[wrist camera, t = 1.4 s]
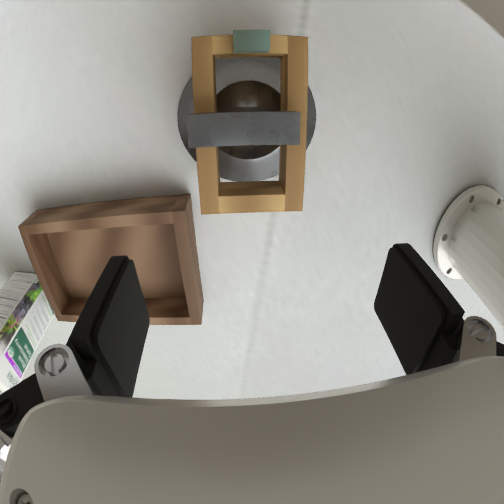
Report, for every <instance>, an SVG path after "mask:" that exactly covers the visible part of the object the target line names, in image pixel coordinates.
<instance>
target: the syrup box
mask: <svg viewBox="0 0 504 504" xmlns="http://www.w3.org/2000/svg"><path fill="white" fill-rule="evenodd" d="M54 316H55V314H54V312H53V310H52V308H51V306H50V304H49V302H48V300H47V297H46V295H45V293H44V291H43V289H42V287H41V284H40V282H39V280H38V278H37V275H36V274H34V273H24V272H14V273H13V275H12V276H11V277H10V278H9V280H8V281H7V282H6V283H5V285H4V286H3V287H2V288H1V290H0V394H2V393H3V392H5V391H7V390H8V389H10V388H12V387H13V386H15V385H17V384H18V383H20V382H21V380H22V378H23V376H24V373H25V371H26V369H27V367H28V365H29V363H30V361H31V358H32V356H33V354H34V352H35V350H36V348H37V346H38V345H39V343H40V341H41V339H42V337H43V335H44V333H45V331H46V330H47V328H48V326H49V324H50V322H51V321H52V319H53V317H54Z"/></svg>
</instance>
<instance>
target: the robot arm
mask: <svg viewBox="0 0 504 504" xmlns="http://www.w3.org/2000/svg"><path fill="white" fill-rule="evenodd" d="M433 255H434V261H435V263H436V265H437V267H438V268H439V270H440V271H441V272H442V273H443V274H444V275H445V276H446V277H449V278H452V279H461V278H463V279H464V280H465V281H466V282H467V283H468V284H469V286H470V287H471V288H472V289H473V290H474V292H475V293H476V294H477V295H478V296H479V298H480V299H481V300H482V301H483V303H484V304H485V305H486V306H487V308H488V309H489V310H490V312H491V313H492V314H493V315H494V317H495V318H496V319H497V321H498V322H499V323H500V325H501V326H502V328H503V329H504V201H503V199H502V197H501V196H500V194H499V193H498V192H497V191H495V190H494V189H492V188H490V187H488V186H484V185H479V186H474V187H471V188H469V189H467V190H466V191H464V192H463V193H461V194H460V195H459V196H458V197H457V198H456V199H455V200H454V201H453V202H452V204H451V205H450V206H449V207H448V209H447V210H446V212H445V214H444V215H443V217H442V219H441V221H440V223H439V226H438V228H437V231H436V235H435V239H434V245H433ZM374 309H375V312H376V314H377V316H378V318H379V320H380V322H381V323H382V325H383V327H384V329H385V331H386V333H387V335H388V337H389V339H390V341H391V344H392V346H393V348H394V350H395V352H396V354H397V356H398V358H399V360H400V362H401V364H402V367H403V369H404V371H405V373H406V375H405V376H401V377H397V378H392V379H388V380H383V381H378V382H374V383H369V384H363V385H358V386H352V387H347V388H341V389H334V390H328V391H321V392H313V393H305V394H296V395H287V396H276V397H263V398H248V399H224V400H176V399H147V398H132V396H133V392H134V387H135V383H136V378H137V373H138V369H139V365H140V360H141V356H142V352H143V348H144V343H145V339H146V335H147V331H148V328H149V323H150V318H149V313H148V310H147V307H146V303H145V300H144V297H143V293H142V290H141V286H140V283H139V279H138V276H137V272H136V268H135V264H134V261H133V260H132V259H129V258H128V256H126V255H123V256H112V257H111V258H110V259H109V261H108V263H107V265H106V266H105V268H104V270H103V272H102V274H101V276H100V277H99V279H98V281H97V283H96V285H95V287H94V289H93V290H92V292H91V294H90V296H89V298H88V300H87V302H86V304H85V306H84V308H83V310H82V312H81V314H80V316H79V318H78V320H77V322H76V324H75V326H74V328H73V331H72V333H71V335H70V337H69V339H68V342H67V344H66V345H63V344H53V345H51V346H48V347H47V348H45V349H44V350H42V351H41V353H40V354H39V355H38V357H37V358H36V360H35V365H34V368H35V374H33V375H31V376H30V377H28V378H26V379H25V380H23V381H21V382H20V383H18V384H17V385H15V386H13V387H12V388H10V389H8V390H7V391H5V392H3V393H2V394H0V504H504V345H503V344H501V343H499V342H497V341H496V332H495V330H494V328H493V326H492V325H491V324H490V323H489V322H488V321H486V320H485V319H483V318H481V317H478V316H470V317H468V318H467V319H466V320H465V321H464V320H463V318H462V317H463V315H464V313H465V311H464V310H463V309H462V307H461V306H460V305H459V303H458V302H457V301H456V299H455V298H454V297H453V295H452V294H451V293H450V292H449V290H448V289H447V288H446V287H445V285H444V284H443V283H442V282H441V280H440V279H439V278H438V277H437V275H436V274H435V273H434V272H433V271H432V269H431V268H430V267H429V266H428V265H427V264H426V262H425V261H424V260H423V259H422V258H421V257H420V255H419V254H418V253H417V252H416V251H415V250H414V249H413V247H412V246H411V245H410V244H408V243H403V244H394V245H393V247H392V248H390V249H389V252H388V256H387V260H386V263H385V267H384V271H383V275H382V278H381V282H380V285H379V289H378V292H377V295H376V299H375V302H374Z"/></svg>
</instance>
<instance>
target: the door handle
mask: <svg viewBox="0 0 504 504" xmlns="http://www.w3.org/2000/svg"><path fill="white" fill-rule="evenodd" d="M215 61H216V99H217V112H208V113H194V103H193V79H192V78H191V79H190V81H189V82H188V84H187V85H186V87H185V89H184V91H183V93H182V96H181V99H180V102H179V108H178V127H179V132H180V135H181V139H182V141H183V143H184V146H185V147H186V149H187V151H188V152H189V154H190V155H191V156H192V157H193V159H194V160H195V161H196V162H197V155H196V148H199V147H215V146H218V151H219V172H220V177H221V178H224V179H228V180H231V181H238V182H246V181H261V180H265V179H268V178H271V177H274V176H276V175H278V174H279V160H280V145H300V115H301V112H298V111H280V59H279V58H266V57H242V58H216V59H215ZM315 123H316V108H315V103H314V99H313V96H312V93H311V91H310V89H309V87H308V94H307V131H306V149H307V147H308V146H309V144H310V142H311V139H312V137H313V134H314V129H315Z"/></svg>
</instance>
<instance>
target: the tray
mask: <svg viewBox="0 0 504 504" xmlns="http://www.w3.org/2000/svg"><path fill="white" fill-rule="evenodd" d="M18 228H19V231H20V233H21V236H22V239H23V242H24V245H25V248H26V250H27V253H28V255H29V258H30V261H31V263H32V266H33V268H34V270H35V273H36V275H37V278H38V280H39V282H40V284H41V287H42V289H43V291H44V293H45V295H46V297H47V300H48V302H49V304H50V306H51V308H52V310H53V312H54V314H55V316H56V318H57V320H58V321H68V322H77V320H78V318H79V316H80V314H81V312H82V310H83V308H84V306H85V304H86V302H87V300H88V298H89V296H90V294H91V292H92V290H93V289H94V287H95V285H96V283H97V281H98V279H99V277H100V276H101V274H102V272H103V270H104V268H105V266H106V265H107V263H108V261H109V259H110V258H111V257H112V256H123V255H126V256H128V258H129V259H132V260H133V261H134V264H135V268H136V272H137V276H138V279H139V283H140V286H141V290H142V293H143V297H144V300H145V303H146V307H147V310H148V313H149V318H150V323H149V325H201V323H202V312H203V302H204V300H203V293H202V286H201V279H200V271H199V264H198V256H197V248H196V240H195V231H194V222H193V213H192V203H191V194H186V195H171V196H158V197H145V198H134V199H123V200H113V201H104V202H95V203H87V204H78V205H70V206H63V207H56V208H48V209H42V210H36V211H35V212H34V213H33V214H31V215H30V216H29V217H28V218H27V219H26V220H25V221H24V222H22V223H21V224H20V225H19V226H18Z"/></svg>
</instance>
